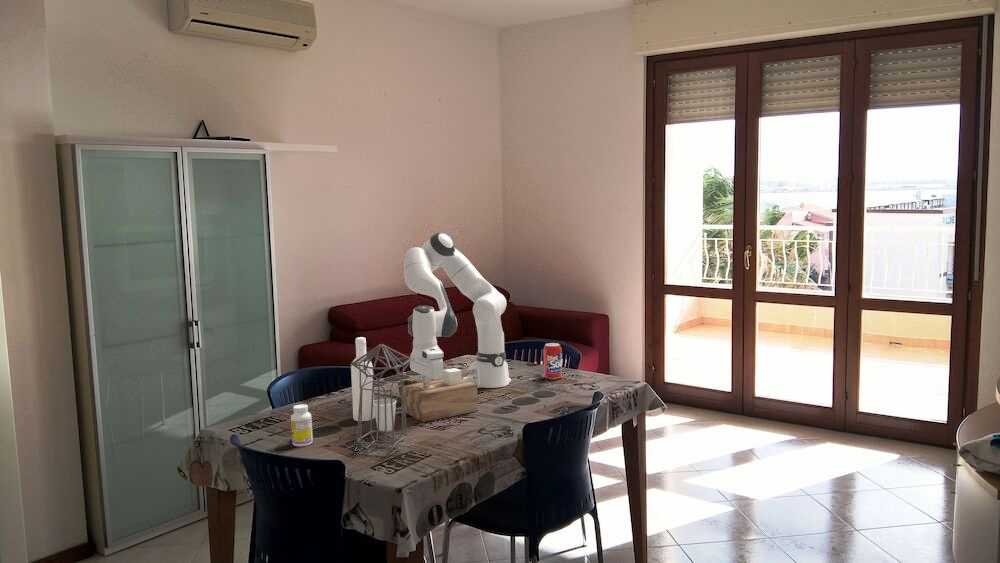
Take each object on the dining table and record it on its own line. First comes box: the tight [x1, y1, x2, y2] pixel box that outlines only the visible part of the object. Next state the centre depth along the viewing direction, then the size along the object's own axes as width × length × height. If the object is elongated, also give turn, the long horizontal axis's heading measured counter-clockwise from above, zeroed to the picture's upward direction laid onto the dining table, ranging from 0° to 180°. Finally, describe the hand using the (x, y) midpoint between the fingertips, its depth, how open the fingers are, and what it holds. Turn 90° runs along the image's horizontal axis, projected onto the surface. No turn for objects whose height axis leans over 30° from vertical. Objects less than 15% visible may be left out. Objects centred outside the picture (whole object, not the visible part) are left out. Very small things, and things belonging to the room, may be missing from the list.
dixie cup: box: [373, 397, 398, 432], centre depth 270 cm, size 8×8×10 cm
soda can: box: [543, 342, 563, 381], centre depth 337 cm, size 8×8×15 cm
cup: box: [397, 379, 418, 397], centre depth 305 cm, size 8×7×8 cm
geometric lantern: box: [349, 343, 412, 458], centre depth 244 cm, size 16×16×35 cm
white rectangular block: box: [443, 367, 463, 386], centre depth 292 cm, size 5×5×9 cm
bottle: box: [350, 336, 376, 422], centre depth 282 cm, size 8×8×30 cm
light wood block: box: [403, 378, 479, 423], centre depth 290 cm, size 16×23×10 cm
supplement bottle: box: [290, 403, 314, 447], centre depth 256 cm, size 7×7×13 cm
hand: (426, 386), depth 287 cm, fingers closed, pressing on peg terracotta
